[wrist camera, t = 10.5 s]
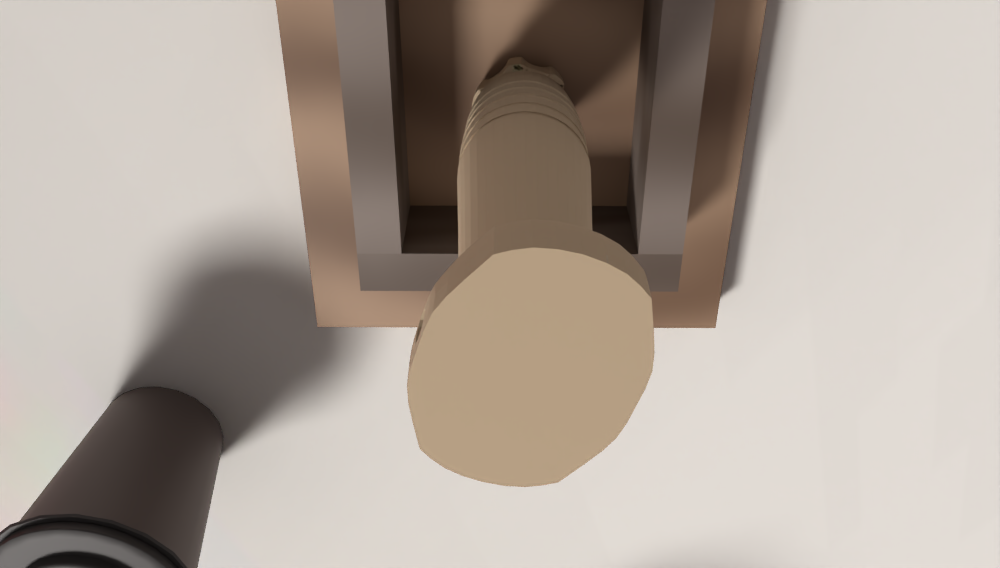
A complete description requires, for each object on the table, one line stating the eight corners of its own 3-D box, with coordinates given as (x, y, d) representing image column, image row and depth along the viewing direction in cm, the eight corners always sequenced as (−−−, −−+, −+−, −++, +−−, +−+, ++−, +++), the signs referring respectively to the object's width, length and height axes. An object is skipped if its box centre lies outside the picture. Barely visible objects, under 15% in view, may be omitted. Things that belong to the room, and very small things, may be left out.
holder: (255, -251, 27) (211, -242, 23) (791, -249, 27) (845, -240, 23) (323, 306, 38) (301, 381, 34) (708, 307, 38) (733, 382, 34)
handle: (622, 33, 30) (700, 287, 18) (556, 196, 34) (582, 505, 21) (483, -13, 29) (461, 219, 17) (429, 159, 33) (379, 457, 20)
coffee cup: (157, 518, 45) (77, 707, 36) (34, 408, 41) (-87, 591, 33) (289, 455, 43) (237, 641, 34) (172, 333, 39) (80, 508, 30)
